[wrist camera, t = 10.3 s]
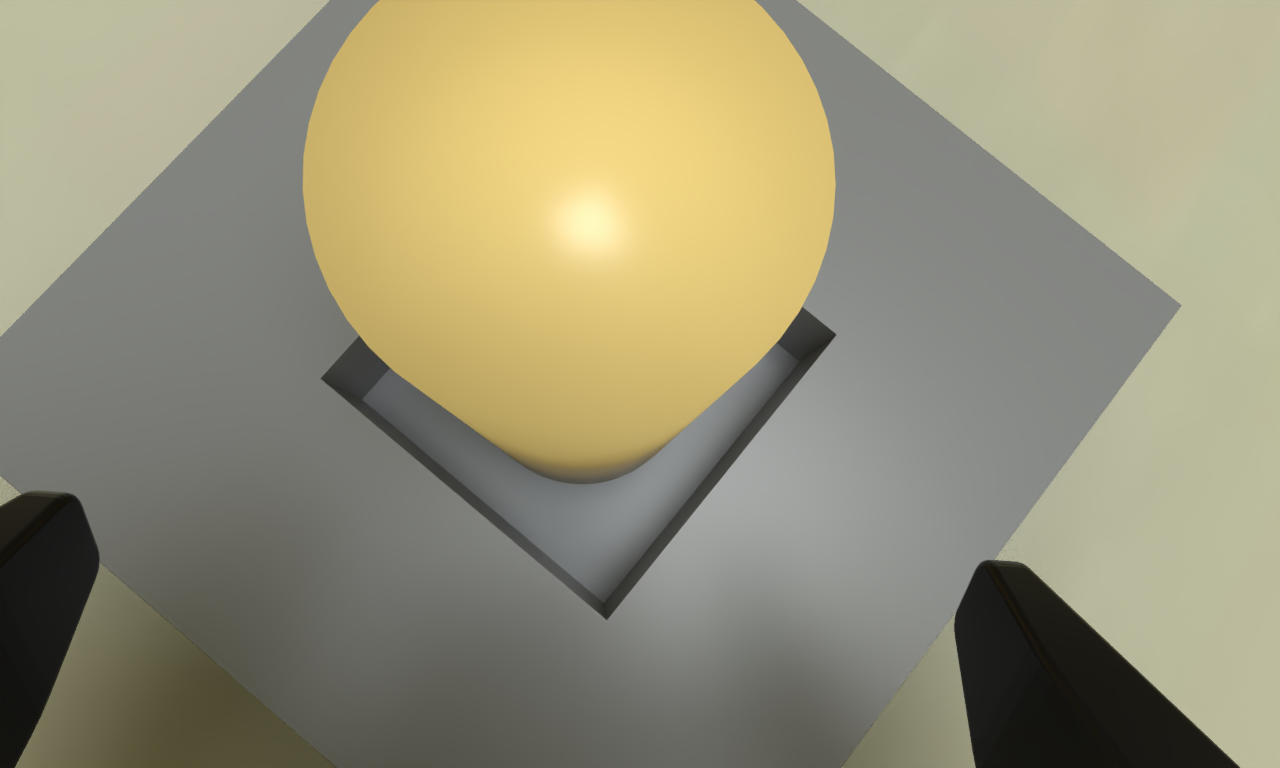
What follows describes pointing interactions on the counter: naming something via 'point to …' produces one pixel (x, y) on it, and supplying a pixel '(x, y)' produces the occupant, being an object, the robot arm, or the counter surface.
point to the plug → (569, 211)
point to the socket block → (563, 512)
